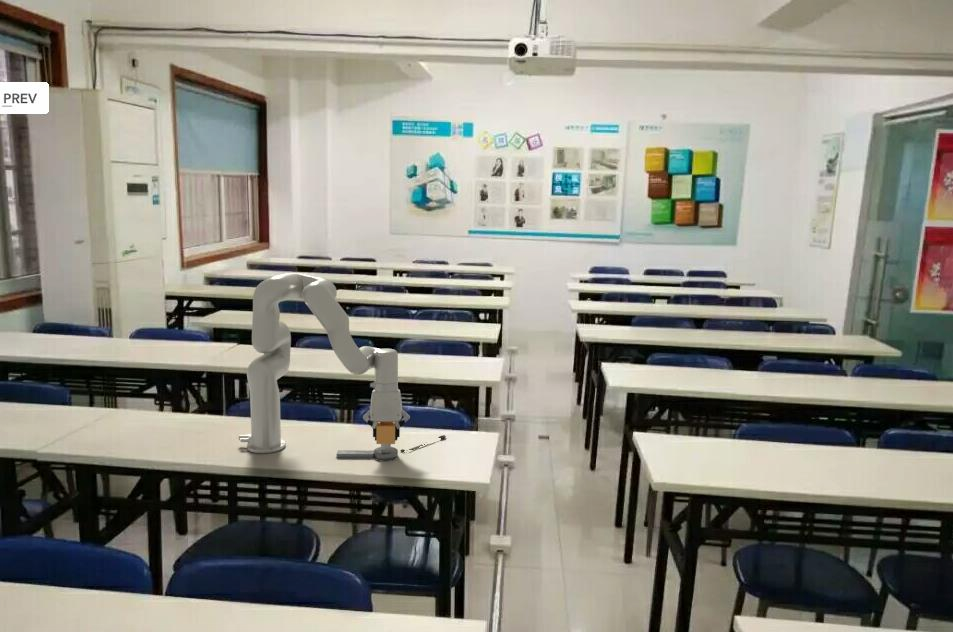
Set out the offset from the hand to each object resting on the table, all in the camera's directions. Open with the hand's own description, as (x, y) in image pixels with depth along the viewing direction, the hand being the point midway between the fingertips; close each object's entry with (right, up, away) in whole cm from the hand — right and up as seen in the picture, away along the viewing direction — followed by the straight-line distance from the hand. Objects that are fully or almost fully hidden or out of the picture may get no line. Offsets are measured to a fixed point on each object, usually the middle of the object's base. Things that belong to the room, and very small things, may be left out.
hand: (386, 438), depth 221 cm
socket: (0, -1, 0) cm, 1 cm away
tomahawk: (+13, -5, +12) cm, 18 cm away
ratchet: (-6, -6, +1) cm, 9 cm away
